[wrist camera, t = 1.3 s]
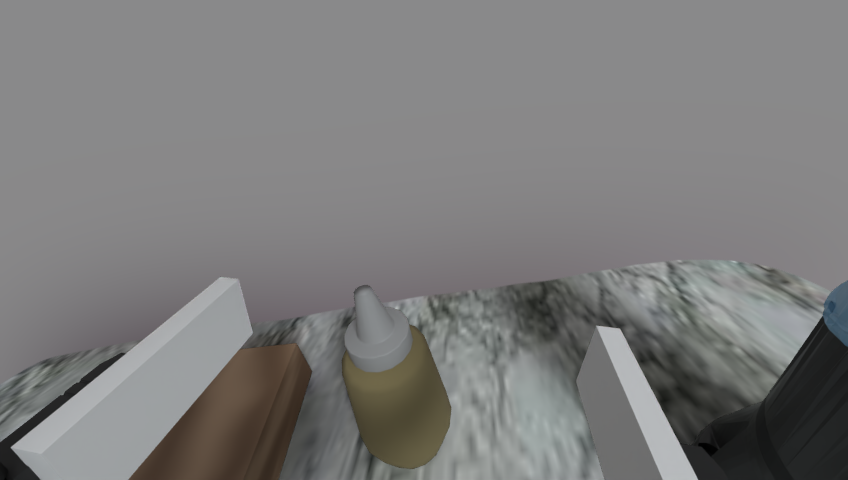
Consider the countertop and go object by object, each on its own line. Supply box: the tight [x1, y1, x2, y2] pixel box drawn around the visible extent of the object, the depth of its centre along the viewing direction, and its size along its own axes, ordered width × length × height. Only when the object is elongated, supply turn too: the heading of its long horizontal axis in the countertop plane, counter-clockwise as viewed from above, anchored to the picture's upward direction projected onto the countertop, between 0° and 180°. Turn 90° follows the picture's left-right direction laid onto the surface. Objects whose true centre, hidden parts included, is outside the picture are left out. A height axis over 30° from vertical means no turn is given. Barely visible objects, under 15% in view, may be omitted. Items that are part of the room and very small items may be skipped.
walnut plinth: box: [128, 343, 312, 480], centre depth 32 cm, size 16×16×5 cm
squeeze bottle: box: [342, 285, 451, 469], centre depth 26 cm, size 8×8×18 cm
